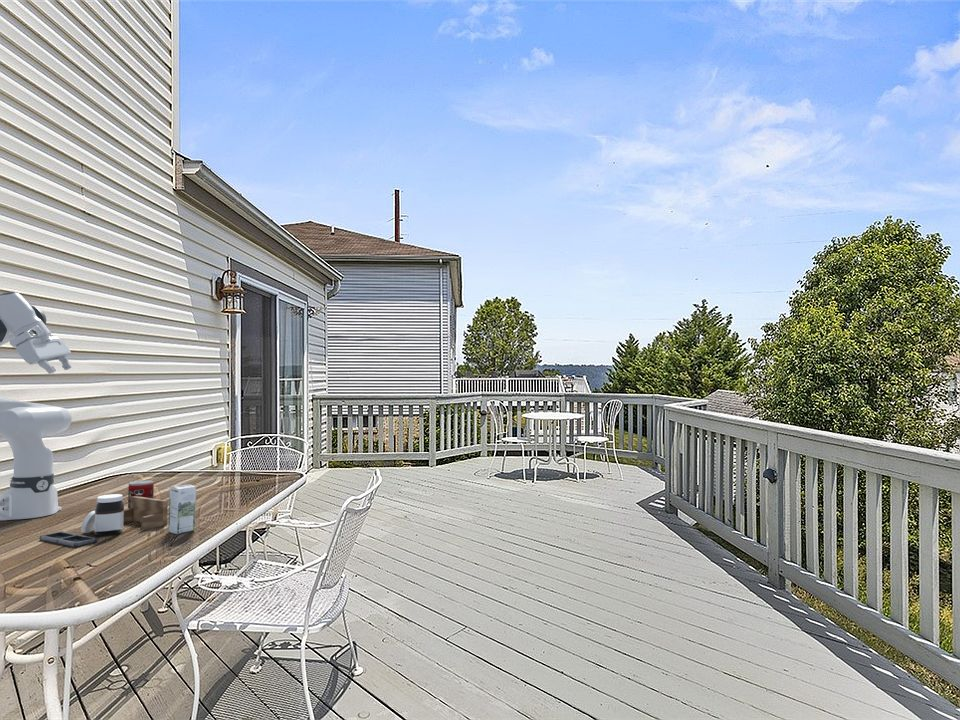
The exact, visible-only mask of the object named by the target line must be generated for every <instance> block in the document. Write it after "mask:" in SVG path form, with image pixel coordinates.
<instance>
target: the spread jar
mask: <svg viewBox="0 0 960 720" xmlns="http://www.w3.org/2000/svg"><path fill="white" fill-rule="evenodd" d="M123 498H124V497H123V494H121V493H118V494H117V493H114V494H113V493H111V494H103V495H99V496H97V498H96V505H95V510H91V511H90V512H89V513H88V514H87V515H86V516H85V517H84V520H83V521H82V523H81V526H80V530H81V532H82V533H86V534H89V533H91V532H93V531H94V535H95V536H97V537H98V536H99V537H107V536H114V535H118V534H120V533H122V532H123V530H124V523H123V521H124V510H125V506H124V505H125V504H124V501H123Z"/></svg>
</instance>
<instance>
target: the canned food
mask: <svg viewBox="0 0 960 720" xmlns="http://www.w3.org/2000/svg"><path fill="white" fill-rule="evenodd" d="M154 483H155V482H154V480H150V479H149V480H148V479H147V480H145V479H143V480H134V481H131V482H128V490H127V492H128V493H127V494H128V495H127V498H128V499H127V500H128V502H127V509H130V504H131V497H132V496H138V497H146V498H153V499H154V492H155V491H154V489H155V485H154Z"/></svg>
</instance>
